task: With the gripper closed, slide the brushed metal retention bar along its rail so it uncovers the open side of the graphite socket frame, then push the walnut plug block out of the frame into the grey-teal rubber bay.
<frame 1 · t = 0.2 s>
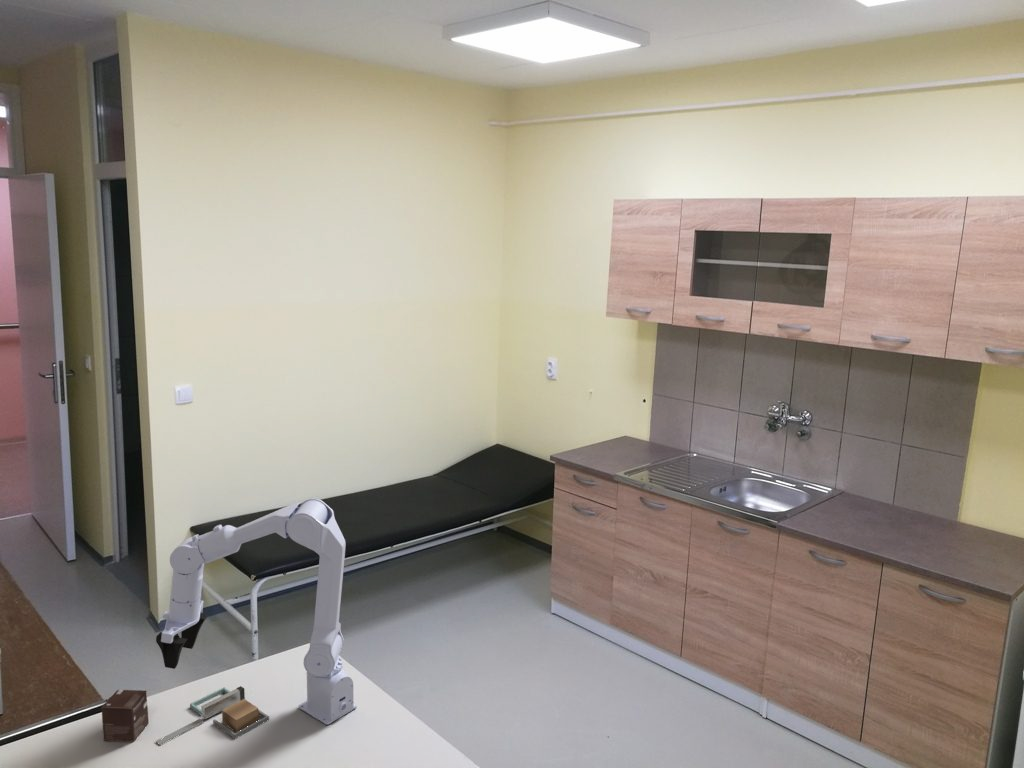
hand: (179, 657, 156), 11 cm above the table, tool pointing down, fingers open, 7 cm apart
plug: (240, 722, 152), on the table
bay: (213, 702, 158), on the table
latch: (223, 702, 155), point 2 cm above the table, slide at 0.0 cm
box: (126, 733, 148), on the table
socket: (240, 721, 152), on the table
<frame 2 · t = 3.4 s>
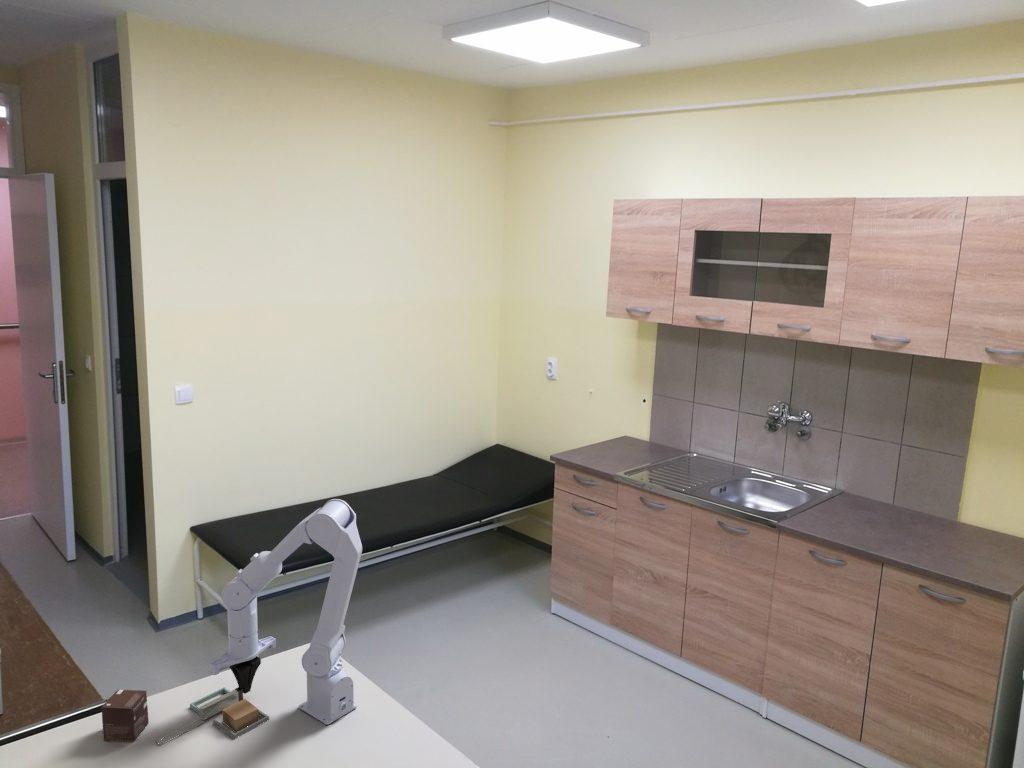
hand: (244, 690, 159), 2 cm above the table, tool pointing down, fingers closed
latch: (221, 703, 155), point 2 cm above the table, slide at 0.4 cm, touching gripper
everything else where it was.
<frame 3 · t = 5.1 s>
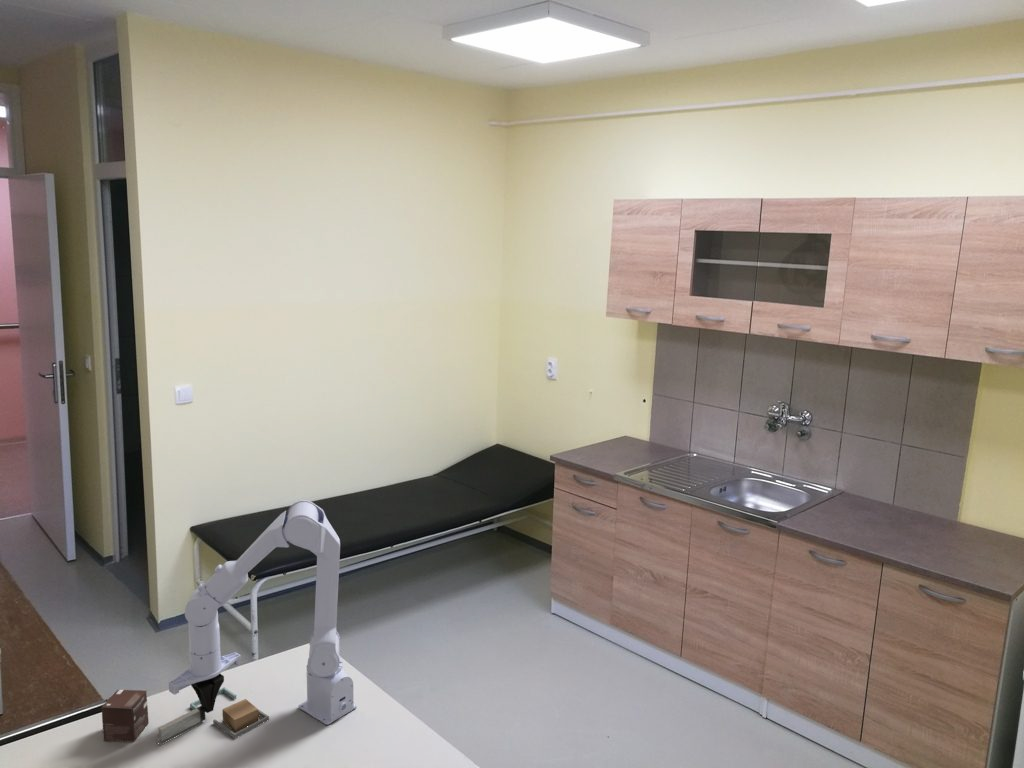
hand: (207, 709, 153), 2 cm above the table, tool pointing down, fingers closed
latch: (182, 723, 148), point 2 cm above the table, slide at 9.0 cm, touching gripper
everything else where it was.
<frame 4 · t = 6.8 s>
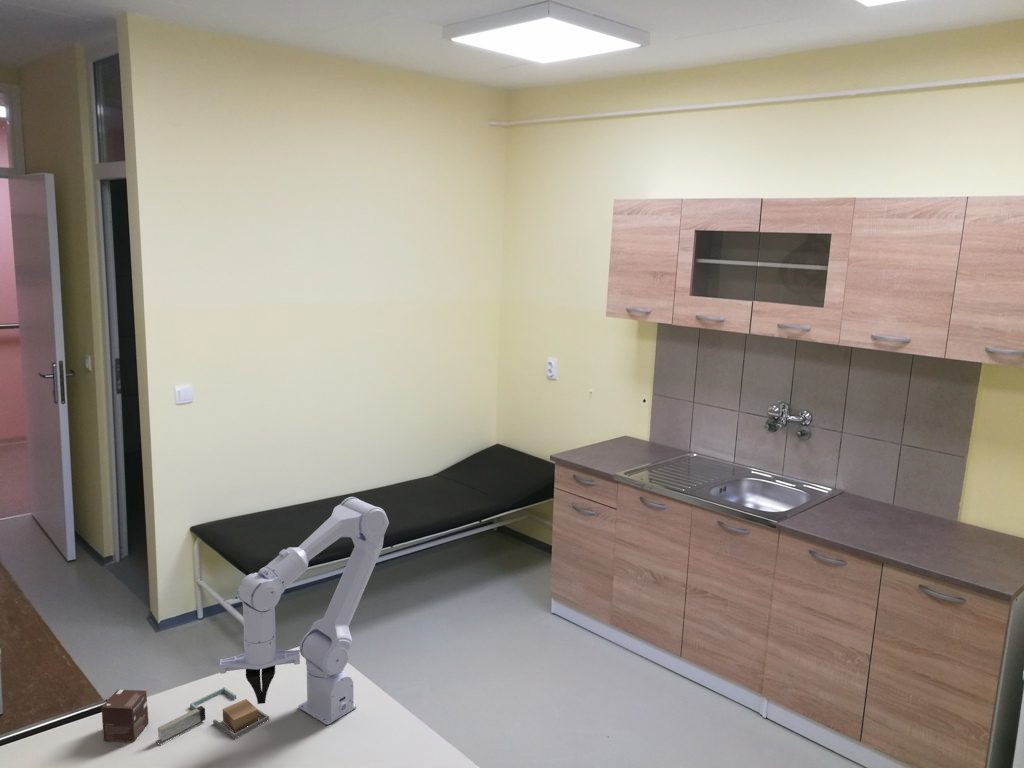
hand: (261, 700, 146), 8 cm above the table, tool pointing down, fingers closed
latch: (182, 723, 148), point 2 cm above the table, slide at 9.0 cm
everything else where it was.
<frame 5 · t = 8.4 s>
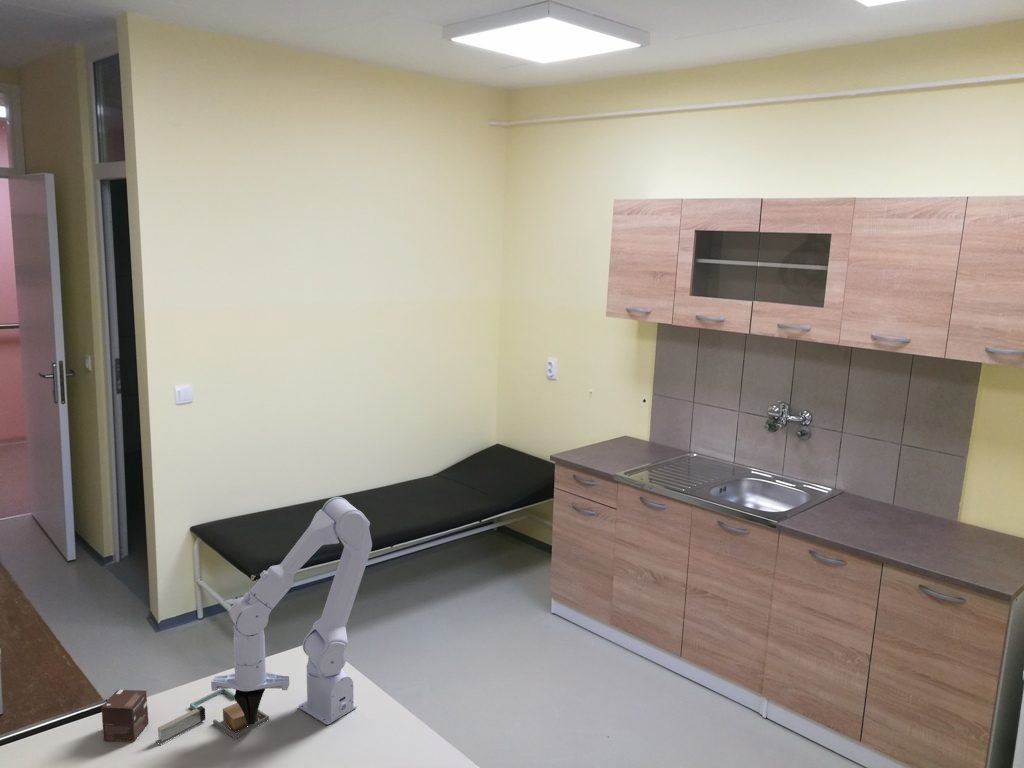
hand: (252, 721, 150), 2 cm above the table, tool pointing down, fingers closed
plug: (240, 722, 152), on the table, touching gripper
everything else where it was.
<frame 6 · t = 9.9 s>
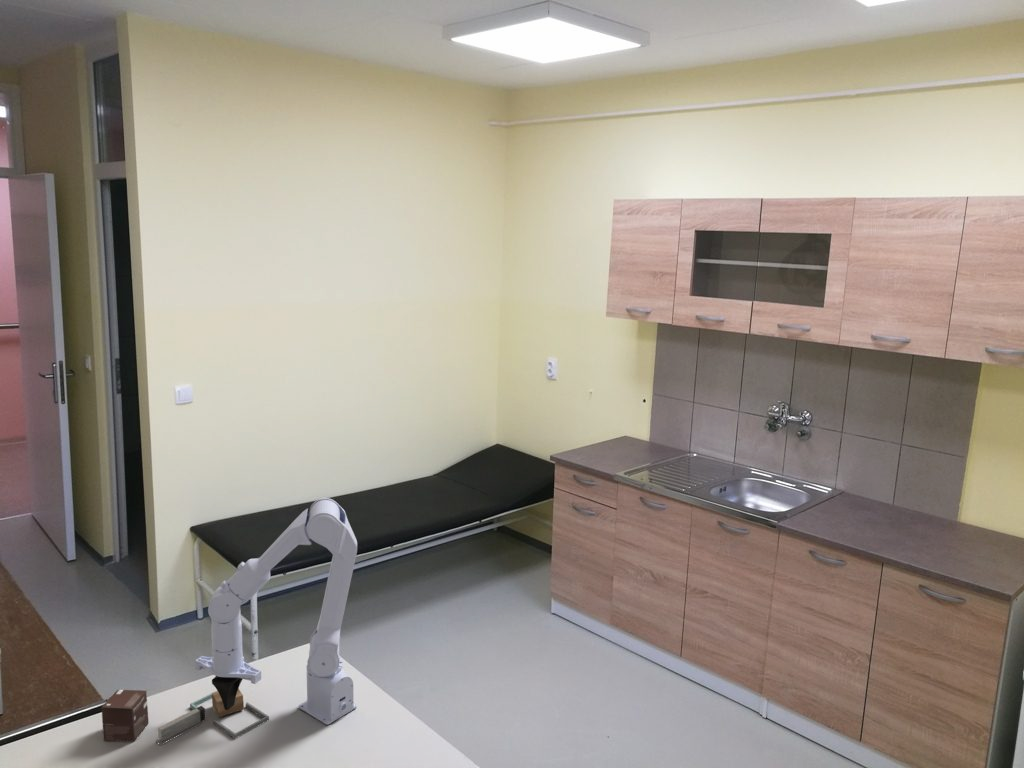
hand: (229, 707, 153), 2 cm above the table, tool pointing down, fingers closed, pressing on plug
plug: (228, 707, 156), on the table, tilted 5°, touching bay, gripper
everything else where it was.
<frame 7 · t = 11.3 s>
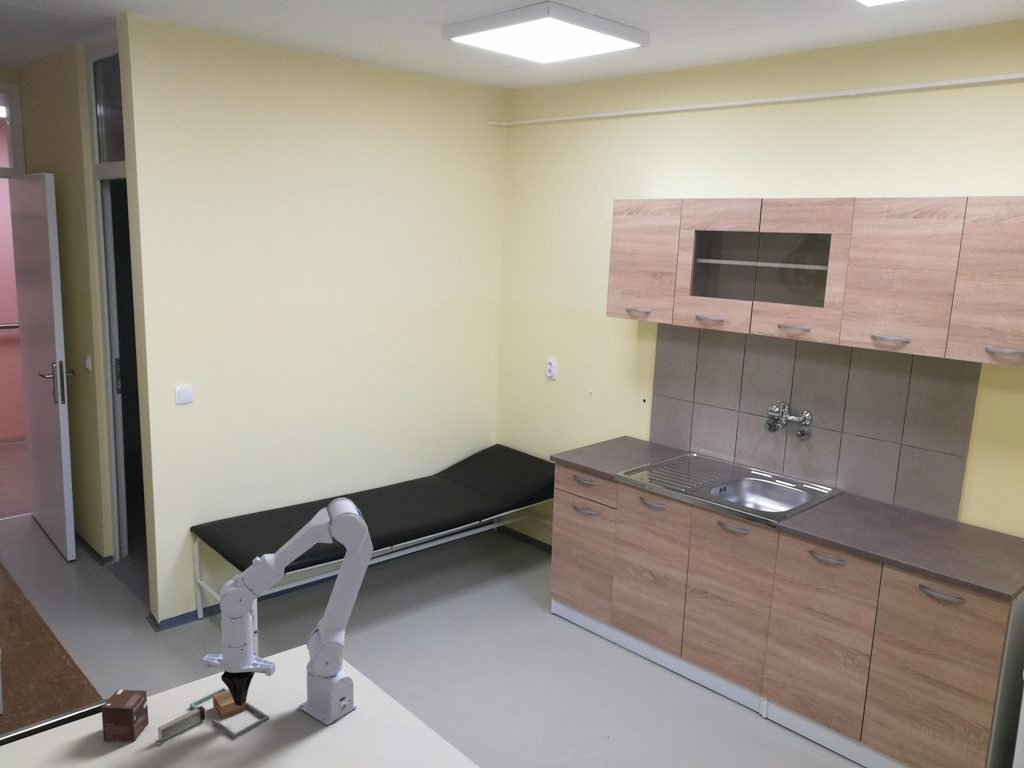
hand: (240, 702, 151), 4 cm above the table, tool pointing down, fingers closed
plug: (229, 709, 156), on the table
everything else where it was.
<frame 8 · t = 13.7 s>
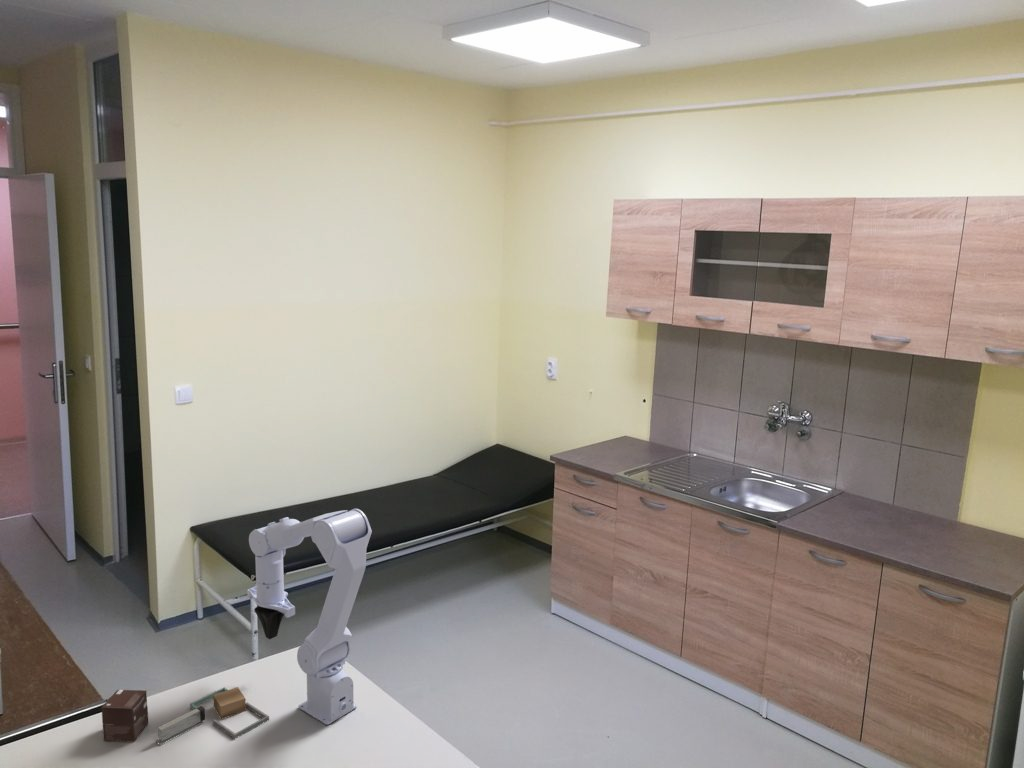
hand: (271, 636, 167), 9 cm above the table, tool pointing down, fingers closed
nothing on the table moved.
at the end: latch slide at 9.0 cm; plug 2.9 cm from the target spot, on the table; plug tilted 0° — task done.
